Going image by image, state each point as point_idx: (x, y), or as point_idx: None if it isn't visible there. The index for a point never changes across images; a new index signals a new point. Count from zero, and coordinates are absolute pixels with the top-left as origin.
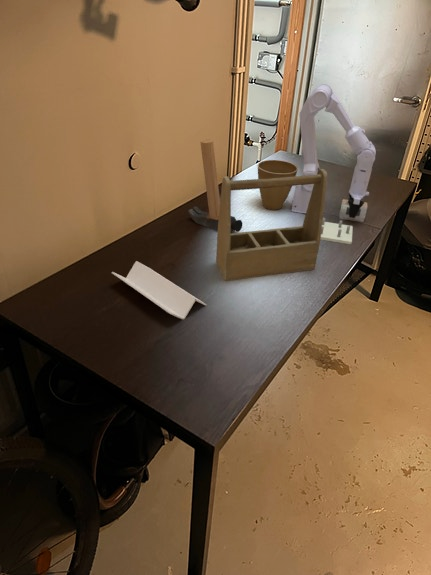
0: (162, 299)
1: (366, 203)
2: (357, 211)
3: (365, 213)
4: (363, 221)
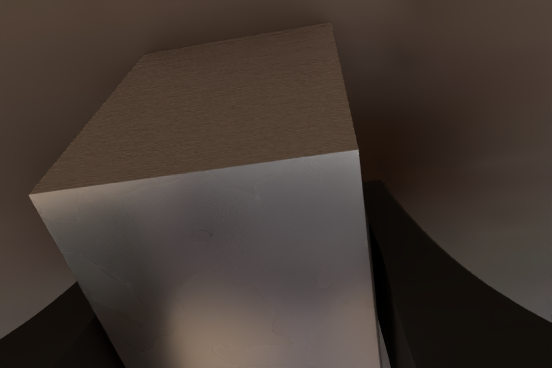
0: None
1: (100, 205)
2: (439, 249)
3: (342, 85)
4: (331, 28)
